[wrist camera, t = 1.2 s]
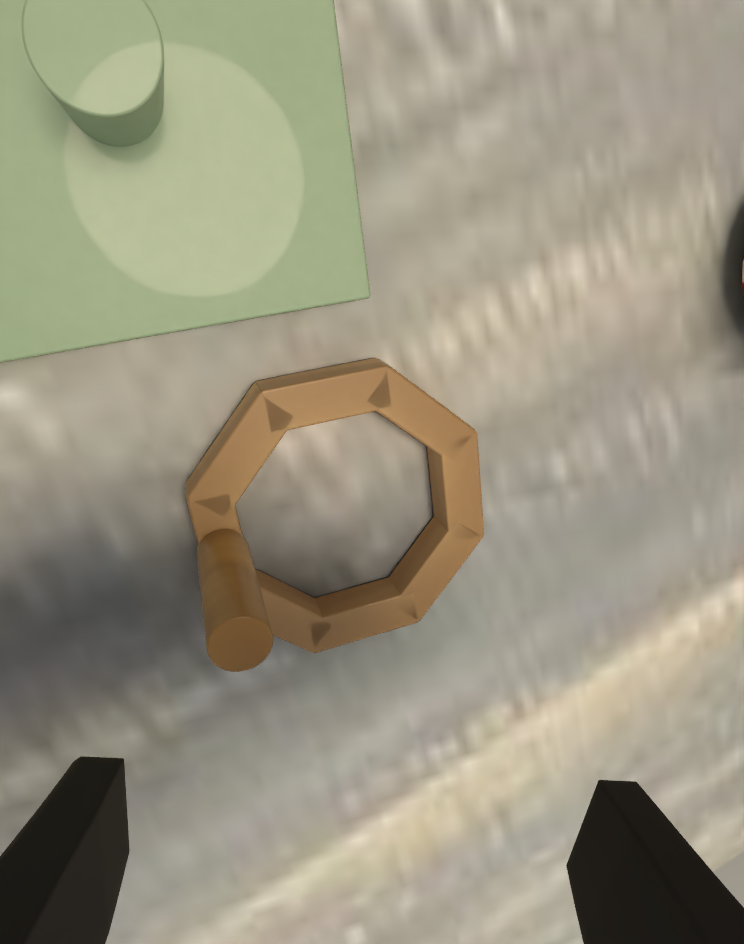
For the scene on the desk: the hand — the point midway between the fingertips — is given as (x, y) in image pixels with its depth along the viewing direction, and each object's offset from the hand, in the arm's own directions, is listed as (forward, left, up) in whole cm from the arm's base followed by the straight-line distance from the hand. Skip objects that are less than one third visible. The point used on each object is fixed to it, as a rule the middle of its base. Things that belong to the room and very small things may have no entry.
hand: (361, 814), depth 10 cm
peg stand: (-1, +11, -10) cm, 15 cm away
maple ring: (+2, 0, -10) cm, 11 cm away
